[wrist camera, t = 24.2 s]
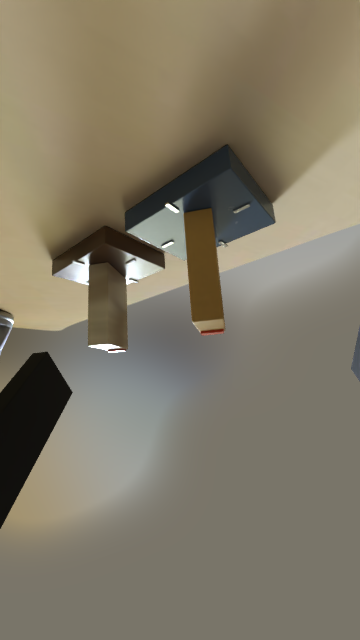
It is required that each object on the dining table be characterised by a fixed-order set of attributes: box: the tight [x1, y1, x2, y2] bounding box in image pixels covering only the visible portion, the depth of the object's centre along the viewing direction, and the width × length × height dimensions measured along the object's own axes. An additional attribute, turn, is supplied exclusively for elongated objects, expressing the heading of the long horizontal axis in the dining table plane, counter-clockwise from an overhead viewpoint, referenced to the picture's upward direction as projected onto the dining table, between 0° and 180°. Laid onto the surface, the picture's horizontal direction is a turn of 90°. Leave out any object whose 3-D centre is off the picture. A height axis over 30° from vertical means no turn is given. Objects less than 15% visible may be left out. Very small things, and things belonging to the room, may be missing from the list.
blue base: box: [125, 145, 275, 261], centre depth 25 cm, size 11×10×2 cm
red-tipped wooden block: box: [183, 208, 225, 335], centre depth 23 cm, size 6×2×10 cm, turn 11°
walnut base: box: [52, 226, 165, 285], centre depth 33 cm, size 11×10×2 cm
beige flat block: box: [88, 262, 128, 352], centre depth 32 cm, size 6×2×10 cm, turn 11°
